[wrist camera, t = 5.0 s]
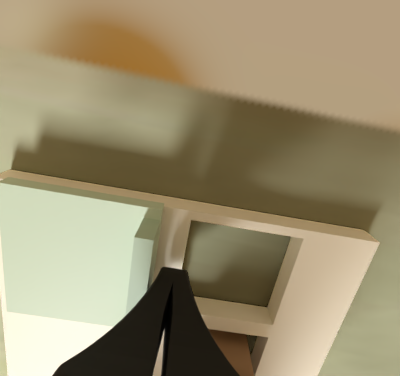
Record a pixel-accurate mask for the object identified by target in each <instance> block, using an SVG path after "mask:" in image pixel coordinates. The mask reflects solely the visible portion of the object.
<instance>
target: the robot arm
mask: <svg viewBox="0 0 400 376" xmlns="http://www.w3.org/2000/svg"><path fill="white" fill-rule="evenodd" d="M163 332H164V343H163V357H162V370H161V376H240V375H239V374H238V373H237V372H236V370H235V369H234V368H233V366H232V365H231V364H230V362H229V361H228V360H227V358H226V357H225V355H224V354H223V352H222V351H221V350H220V348H219V347H218V345H217V344H216V342H215V340H214V339H213V337H212V335H211V333H210V332H209V330H208V328H207V326H206V324H205V322H204V320H203V318H202V316H201V313H200V311H199V309H198V306H197V304H196V301H195V298H194V295H193V292H192V289H191V285H190V281H189V276H188V272H187V270H182V269H176V268H170V267H162V268H161V269H160V272H159V274H158V275H157V277H156V279H155V280H154V282H153V283H152V285H151V286H150V288H149V289H148V290H147V292H146V293H145V294H144V296H143V297H142V298H141V299H140V300H139V302H138V303H137V304H136V305H135V306H134V307H133V308H132V309H131V311H130V312H129V313H128V314H127V315H126V316H125V317H124V318H123V319H122V320H121V321H119V322H118V323H117V324H116V325H115V326H114V327H113V328H112V329H110V330H109V331H108V332H107V333H106V334H104V335H103V336H102V337H101V338H99V339H98V340H97V341H95V342H94V343H93V344H91V345H90V346H89V347H87V348H86V349H84V350H83V351H81V352H80V353H78V354H77V355H75V356H73V357H72V358H70V359H69V360H67V361H66V362H64V363H62V364H61V365H60V366H59V367H58V368H57V370H56V371H55V372H54V374H53V375H52V376H153V372H154V367H155V363H156V359H157V355H158V352H159V348H160V344H161V340H162V336H163Z"/></svg>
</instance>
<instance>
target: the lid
mask: <svg viewBox="0 0 400 376" xmlns="http://www.w3.org/2000/svg"><path fill="white" fill-rule="evenodd" d="M163 209H164V203H159V202H153V201H148V200H142V199H136V198H130V197H124V196H118V195H112V194H106V193H100V192H94V191H89V190H83V189H77V188H71V187H65V186H59V185H53V184H47V183H41V182H35V181H29V180H24V179H18V178H12V177H7V178H5V179H3V180H0V235H1V248H2V260H3V272H4V284H5V296H6V308H7V312H13V313H20V314H27V315H34V316H41V317H48V318H55V319H62V320H69V321H76V322H83V323H91V324H98V325H105V326H112V327H114V326H115V325H116V324H117V323H118V322H119V321H121V320H122V319H123V318H124V317H125V316H126V315H127V314H128V313H129V312H130V311H131V309H132V308H133V307H134V306H135V305H136V304H137V303H138V302H139V300H140V299H141V298H142V297H143V296H144V294H145V293H146V292H147V290H148V289H149V288H150V286H151V285H152V283H153V277H154V270H155V264H156V257H157V250H158V243H159V236H160V230H161V223H162V216H163Z"/></svg>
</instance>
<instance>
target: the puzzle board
mask: <svg viewBox="0 0 400 376" xmlns="http://www.w3.org/2000/svg"><path fill="white" fill-rule="evenodd" d="M7 177H12V178H18V179H24V180H29V181H35V182H41V183H47V184H53V185H59V186H65V187H71V188H77V189H83V190H89V191H94V192H100V193H106V194H112V195H118V196H124V197H130V198H136V199H142V200H148V201H153V202H159V203H164V209H163V216H162V223H161V230H160V236H159V243H158V250H157V257H156V264H155V270H154V277H153V282H154V280H155V279H156V277H157V275H158V274H159V272H160V269H161V268H162V267H170V268H176V269H182V266H183V261H184V255H185V250H186V245H187V239H188V234H189V229H190V224H191V220H195V221H201V222H207V223H213V224H219V225H225V226H231V227H237V228H243V229H249V230H255V231H261V232H267V233H273V234H278V235H284V236H290V237H291V239H290V242H289V245H288V248H287V251H286V254H285V257H284V260H283V262H282V265H281V268H280V271H279V274H278V277H277V280H276V283H275V286H274V289H273V292H272V295H271V298H270V301H269V304H268V307H262V306H255V305H248V304H242V303H235V302H229V301H222V300H215V299H209V298H202V297H195V296H194V298H195V301H196V304H197V306H198V309H199V311H200V313H201V316H202V318H203V320H204V322H205V324H206V326H207V328H208V329H213V330H220V331H227V332H234V333H241V334H247V335H254V336H257V339H256V342H255V345H254V348H253V351H252V354H251V362H252V367H253V373H254V376H317V375H318V373H319V371H320V369H321V367H322V365H323V362H324V360H325V358H326V356H327V354H328V352H329V350H330V348H331V345H332V343H333V341H334V339H335V337H336V335H337V333H338V331H339V328H340V326H341V324H342V322H343V320H344V318H345V316H346V314H347V311H348V309H349V307H350V305H351V303H352V301H353V299H354V297H355V294H356V292H357V290H358V288H359V286H360V284H361V282H362V280H363V277H364V275H365V273H366V271H367V269H368V267H369V265H370V263H371V260H372V258H373V256H374V254H375V252H376V250H377V248H378V246H379V243H380V242H378V241H377V240H376V239H375V238H373V237H372V236H371V235H370V234H368V233H367V232H366V231H365V230H362V229H356V228H350V227H344V226H338V225H332V224H327V223H321V222H315V221H309V220H303V219H297V218H291V217H286V216H280V215H274V214H268V213H262V212H256V211H251V210H245V209H239V208H233V207H227V206H221V205H215V204H210V203H204V202H198V201H192V200H186V199H180V198H174V197H169V196H163V195H157V194H151V193H145V192H139V191H133V190H128V189H122V188H116V187H110V186H104V185H98V184H93V183H87V182H81V181H75V180H69V179H63V178H57V177H52V176H46V175H40V174H34V173H28V172H22V171H16V170H11V169H10V170H7V171H5V172H2V173H0V180H3V179H5V178H7ZM0 294H1V305H2V316H3V327H4V338H5V349H6V360H7V371H8V376H52V375H53V374H54V372H55V371H56V370H57V368H58V367H59V366H60V365H61V364H62V363H64V362H66V361H67V360H69V359H70V358H72V357H73V356H75V355H77V354H78V353H80V352H81V351H83V350H84V349H86V348H87V347H89V346H90V345H91V344H93V343H94V342H95V341H97V340H98V339H99V338H101V337H102V336H103V335H104V334H106V333H107V332H108V331H109V330H110V329H112V328H113V327H112V326H105V325H98V324H91V323H83V322H76V321H69V320H62V319H55V318H48V317H41V316H34V315H27V314H20V313H13V312H7V308H6V296H5V284H4V272H3V260H2V248H1V235H0ZM163 343H164V332H163V336H162V340H161V344H160V348H159V352H158V355H157V359H156V363H155V367H154V372H153V376H161V370H162V357H163Z"/></svg>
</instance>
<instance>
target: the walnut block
mask: <svg viewBox="0 0 400 376" xmlns="http://www.w3.org/2000/svg"><path fill="white" fill-rule="evenodd" d="M208 330H209V332H210V333H211V335H212V337H213V339H214V340H215V342H216V344H217V345H218V347H219V348H220V350H221V351H222V352H223V354H224V355H225V357H226V358H227V360H228V361H229V362H230V364H231V365H232V366H233V368H234V369H235V370H236V372H237V373H238V374H239V375H240V376H254V373H253V367H252V362H251V357H250V352H249V346H248V341H247V336H246V334H241V333H234V332H227V331H220V330H213V329H208Z"/></svg>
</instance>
